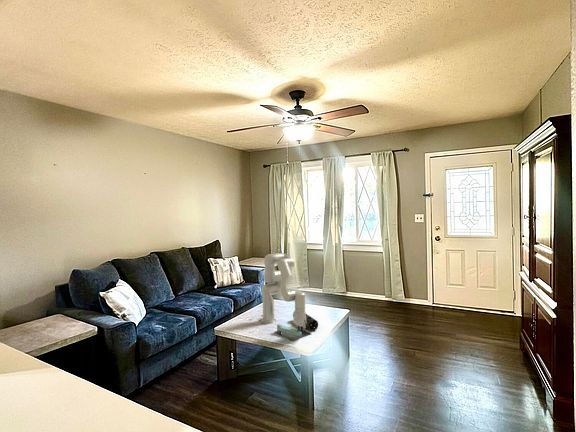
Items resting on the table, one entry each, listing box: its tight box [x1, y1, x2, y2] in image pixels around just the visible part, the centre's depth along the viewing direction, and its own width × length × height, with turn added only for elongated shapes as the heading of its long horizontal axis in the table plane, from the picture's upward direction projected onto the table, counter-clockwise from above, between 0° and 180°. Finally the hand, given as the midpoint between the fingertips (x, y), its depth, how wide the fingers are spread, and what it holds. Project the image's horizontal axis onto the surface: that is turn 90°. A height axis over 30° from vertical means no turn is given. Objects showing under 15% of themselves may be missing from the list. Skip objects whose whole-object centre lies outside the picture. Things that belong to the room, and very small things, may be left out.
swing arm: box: [276, 323, 302, 336], centre depth 233 cm, size 22×4×5 cm, turn 54°
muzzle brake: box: [292, 312, 319, 332], centre depth 253 cm, size 10×28×10 cm, turn 25°
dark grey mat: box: [273, 325, 312, 342], centre depth 237 cm, size 22×20×1 cm
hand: (300, 334), depth 231 cm, fingers closed
